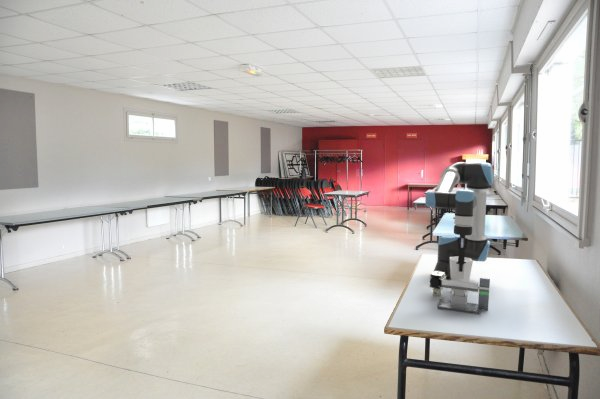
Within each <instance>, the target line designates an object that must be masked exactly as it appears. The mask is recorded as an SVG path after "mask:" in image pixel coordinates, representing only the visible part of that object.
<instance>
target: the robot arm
mask: <svg viewBox="0 0 600 399" xmlns="http://www.w3.org/2000/svg"><path fill="white" fill-rule="evenodd" d="M457 184H458V185H459V184H460V185H461V184H462V185H466V189H457V190H456V192H453V190H454V188H455V186H456V185H457ZM493 185H494V170H493V165H492V164H491V163H489V162H480V161H479V162H478V161H477V162H476V161H475V162H473V161H472V162H471V161H465V162H464V161H459V162H454V163H453V164H450V165H449V166H447V167H445V169H443V171H442V172H441V175H440V180H439V182H438V184H437V185H436V187H435V189H434V190H432V191H431V190H429V191H427V192H426V194H425V199H424V200H425V205H426V207H428V208H434V209H435V208H437V209H453V210H454V216H453V217H452V219H453V220H454V222H453V224H454V226H453V234H444V235H441V236H439V237H438V243H437V261H436V264H435V266H434V269H433V272H435V271H441V272H445V276H446V280H451V274H450V257H457V256H459V257H458V262H456V264H458V269H457V278H460V279H464V263H466V262H464V260H465V259H464V257H466V258H471V259H472V260H473V262H486V261H487V258H488V255H489V250H490V245H491V241H490V240H488V236H487V235H486V234H485V233H486V232H485V231H486V216H487V215H486V213H487V212H486V211H487V191H489V190H490V189H491V186H493Z"/></svg>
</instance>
